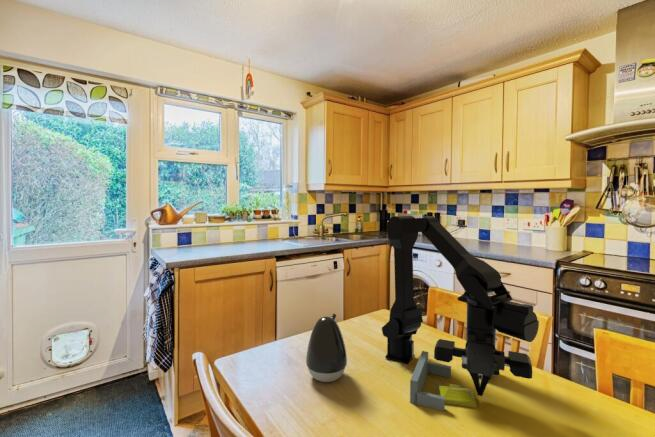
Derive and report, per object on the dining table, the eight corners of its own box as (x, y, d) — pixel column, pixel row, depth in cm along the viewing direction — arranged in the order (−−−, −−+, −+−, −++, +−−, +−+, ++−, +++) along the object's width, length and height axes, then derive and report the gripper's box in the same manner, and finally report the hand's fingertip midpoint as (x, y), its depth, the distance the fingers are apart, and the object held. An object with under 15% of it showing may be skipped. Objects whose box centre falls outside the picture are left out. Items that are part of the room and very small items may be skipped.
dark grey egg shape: (353, 370, 83) (353, 313, 82) (337, 392, 74) (337, 327, 73) (317, 362, 87) (317, 307, 86) (298, 382, 78) (298, 320, 77)
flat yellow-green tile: (435, 409, 68) (435, 396, 68) (431, 385, 77) (431, 374, 77) (486, 416, 66) (486, 403, 66) (476, 391, 75) (476, 379, 75)
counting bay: (410, 402, 70) (410, 380, 70) (422, 369, 83) (422, 350, 83) (444, 411, 67) (444, 388, 66) (450, 375, 80) (451, 356, 80)
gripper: (430, 331, 67) (430, 404, 67) (537, 348, 58) (535, 431, 59) (437, 314, 77) (437, 378, 77) (529, 327, 68) (528, 398, 69)
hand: (479, 394), depth 70 cm, fingers closed
